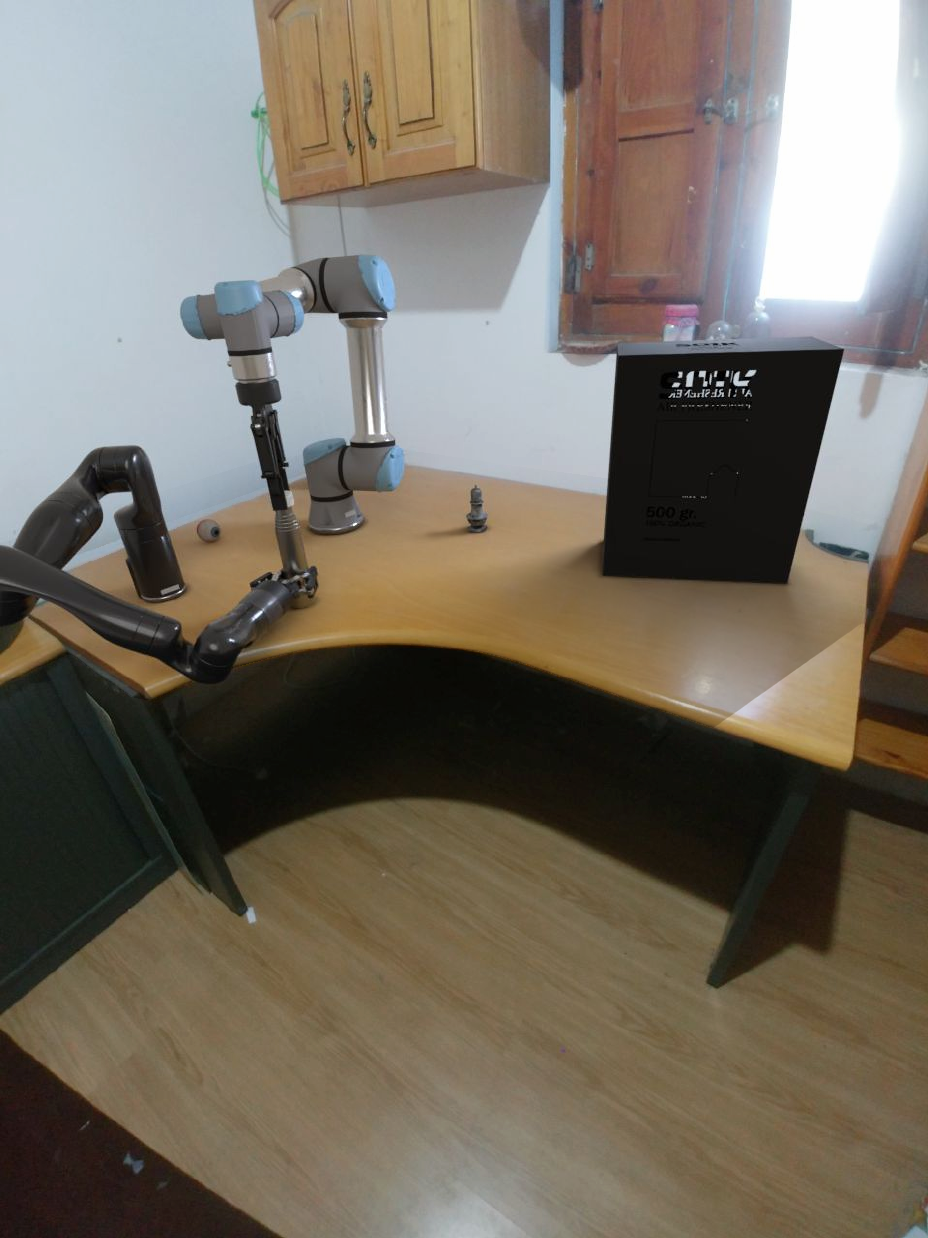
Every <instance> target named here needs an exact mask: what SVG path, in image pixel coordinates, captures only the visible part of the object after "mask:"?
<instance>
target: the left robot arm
mask: <svg viewBox="0 0 928 1238" xmlns="http://www.w3.org/2000/svg"><path fill="white" fill-rule="evenodd" d="M118 493H119V494H120V493H131V498H132V502H131V503H128V504H126V505H125V506H122V507H120V508H119V509H117V510H116V511H115V512H114V513H113V520H114V522H115V525H116V528H117V531H118V533H119V536H120V539H121V541H122V544H123V547H124V551H125V552H126V555H127V557H126V558H125V564H126V567H127V570H128V572H129V575H130V577H131V580H132V583H133V585H134V588H135V591H136V595H137V597H138V598H139V599H142V600H143V601H144V602H146V603H163V602H167V601H171V600H173V599H176V598H178V597H181V595H183V594H184V593H186V591H187V588H188V587H187V584H186V582H185V580H184V576H183V574H182V570H181V566H180V563H179V560H178V557H177V554H176V551H175V548H174V545H173V542H172V538H171V534H170V532H169V530H168V526H167V523H166V520H165V517H164V514H163V510H162V509H163V508H162V502H161V497H160V492H159V490H158V486H157V482H156V478H155V474H154V469H153V466H152V462H151V460H150V458H149V456H148V454H147V452H146V451H145V450H144V448H143V447H141V446H140V445H136V444H127V445H126V444H125V445H107V446H100V447H97V448H94V449H92V450H90V451H89V453H88V454H86V455H85V457H84V458H83V460H82V461H81V462H80V463H79V465H78V466H77V468H76V469H75V471H74V472H72V474H71V475H70V476H69V477H68V478H67V479H66V480H64V482H62V484H61V485H60V486H59V487H58V488H57V489H55V491H53V492H52V493H51V494H49V495H48V496H47V497H46V498H45V499H44V500H43V501H41V502H40V503H39V504H38V505H37V506H36V507H35V508H34V509H33V510H32V511H31V512H30V514H29V515H28V517H27V519H26V520H25V522H24V524H23V526H22V527H21V529H20V530H19V533H18V535H17V537H16V539H15V541H14V543H13V544H12V546H11V545H10V546H9V545H4V544H0V628H3V627H8V626H12V625H14V624H18V623H19V622H21V621H23V620H24V619H26V618H27V617H29V615H30V614H31V613H32V612H33V610H34V609H35V607H36V605H37V604H38V602H39V601H40V599H41V600H44V601H46V602H49V603H52V604H54V605H56V606H58V607H59V608H61V609H63V610H65V611H66V612H67V613H70V614H71V615H72V616H74V617H75V618H76V619H78V620H79V621H80V622H82V623H83V624H84V625H85V626H86V627H88V628H89V629H90V630H92V631H93V632H94V633H95V634H96V635H98V636H99V637H101V638H102V639H104V640H105V641H107V642H109V643H110V644H113V645H114V646H117V647H119V648H122V649H125V650H128V651H131V652H135V653H138V654H141V655H144V656H146V657H149V658H153V659H156V660H158V661H160V662H161V663H163V664H164V665H165V666H167V667H168V668H170V669H172V670H174V671H175V672H177V673H178V674H180V675H182V676H184V677H185V678H187V679H188V680H191V681H193V682H196V683H199V684H203V685H217V684H220V683H223V682H224V681H225V680H226V679H227V678H228V677H229V676H230V674H231V672H232V670H233V667H234V665H235V664H236V662H237V659H238V657H239V656H240V654H241V652H242V651H243V650H245V649H249V648H250V647H252V646H253V645H255V644H256V643H257V642H258V641H259V640H260V639H261V638H262V637H263V636H264V635H265V634H266V633H267V632H268V631H270V630H271V629H273V627H274V626H275V625H276V624H277V623H278V622H279V621H280V620H281V619H283V617H284V616H285V615H286V614H287V613H288V612H289V611H290V609H291V607H292V603H293V600H295V599H297V598H299V597H300V595H307V596H308V598H313V597H314V598H315V595H316V593H317V591H318V589H319V583H318V582H319V581H318V576H319V572H318V568H317V567H316V565H311V566H310V567H308V570H307V571H306V572H305V574H303V575H301V576H298V575H296V576H294V577H292V578H291V579H289V580H286V578H285V574H284V569H283V567H282V568H281V569H280V570H277V571H275V572H274V573H273V572H272V571H268V572H266V573H264V574H262V575H260V576H259V577H256V579H253V581H249V588H250V591H249V592H248V593H247V594H245V596H244V597H242V599H241V600H239V602H238V604H237V605H236V606H235V607H234V608H233V609H232V610H230V611H229V612H228V613H227V614H226V615H224V616H221V617H220V618H217V619H216V620H213V621H212V622H210V623H209V624H207V625H206V626H205V627H204V628H203V629H202V630H201V631H200V632H199V634H198V635H197V637H196V639H195V642H194V644H193V643H192V642H190V641H189V640H188V639H186V638H184V636H183V625H182V623H181V622H180V621H179V620H177V619H175V618H173V617H171V616H168V615H165V614H162V613H160V612H156V611H155V610H154V611H153V610H152V609H148V608H145V607H142V606H139V605H138V604H137V605H136V604H134V603H132V602H129V601H126V600H123V599H121V598H118V597H117V596H114V595H112V594H110V593H108V592H107V591H103V590H102V589H99V588H98V587H96V586H94V585H92V584H90V583H88V582H86V581H85V580H82V579H80V578H79V577H77V576H75V575H73V574H70V573H69V572H67V571H65V570H63V569H64V568H65V567H66V565H68V563H69V562H70V561H72V560H73V558H75V556H76V555H77V554H78V553H79V552H80V551H81V549H83V548H84V547H85V545H87V543H89V541H90V540H91V539H92V538H93V537H94V536H95V534H96V533H97V532H98V531H99V529H100V528H101V527H102V524H103V521H104V510H103V508H102V507H103V506H102V504H101V501H100V500H102V499H103V498H105V497H106V496H108V495H110V494H118ZM304 579H305V583H304V582H303V580H304ZM296 581H297V582H296Z"/></svg>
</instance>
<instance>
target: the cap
mask: <svg viewBox="0 0 928 1238" xmlns="http://www.w3.org/2000/svg"><path fill="white" fill-rule="evenodd" d="M284 492H285V497H286V501H287V506H288V507H293V506H294V505H295V500H294V499H295V498H294V495H293V492H292V491H291V490H290V491H286V490H284ZM268 500H269V504H270V507H271V508H272V503H271V498H270V494H269V493H268Z"/></svg>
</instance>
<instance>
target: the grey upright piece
mask: <svg viewBox="0 0 928 1238" xmlns="http://www.w3.org/2000/svg"><path fill="white" fill-rule="evenodd" d="M482 492H483V491H482V489H481V488H480V487H478V485H477V484H475V485H474V487H473V488H471V490H470V501H469V504H470V512H469V513H467V514H466V516H465V518H466V520H467V522H468V524H469V526H468V527H467V530H468V531H469V532H472V533H480V532H485V531H487V530H488V526H487V525H486V523H487V520H488V517H489V514H488V513H487V512H484V509H483V504H484V500H483V494H482Z"/></svg>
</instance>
